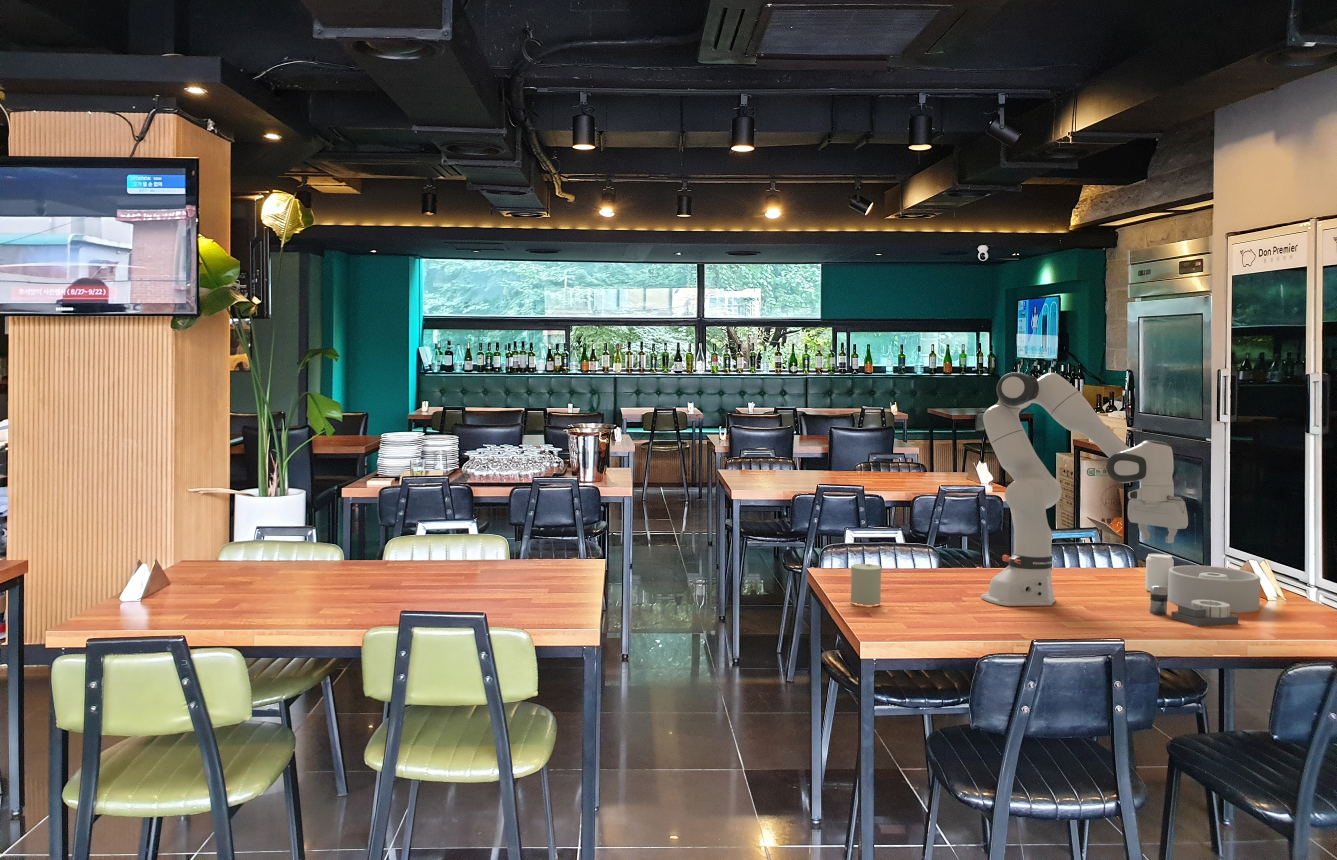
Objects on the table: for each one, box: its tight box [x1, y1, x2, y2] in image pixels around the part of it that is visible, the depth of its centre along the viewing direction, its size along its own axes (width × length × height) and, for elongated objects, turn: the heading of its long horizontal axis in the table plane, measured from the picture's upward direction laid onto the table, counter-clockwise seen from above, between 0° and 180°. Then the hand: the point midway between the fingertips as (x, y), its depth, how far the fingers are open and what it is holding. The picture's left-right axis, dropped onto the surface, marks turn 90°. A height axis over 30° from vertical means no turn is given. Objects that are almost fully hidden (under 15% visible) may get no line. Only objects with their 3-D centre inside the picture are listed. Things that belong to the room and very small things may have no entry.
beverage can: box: [1144, 553, 1175, 594], centre depth 327 cm, size 8×8×12 cm
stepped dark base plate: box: [1170, 600, 1239, 627], centre depth 287 cm, size 14×10×5 cm
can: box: [850, 563, 882, 605], centre depth 305 cm, size 9×9×12 cm
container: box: [1167, 565, 1261, 614], centre depth 310 cm, size 25×25×10 cm
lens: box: [1149, 585, 1169, 616], centre depth 295 cm, size 5×5×8 cm
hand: (1157, 540), depth 297 cm, fingers open, 8 cm apart
